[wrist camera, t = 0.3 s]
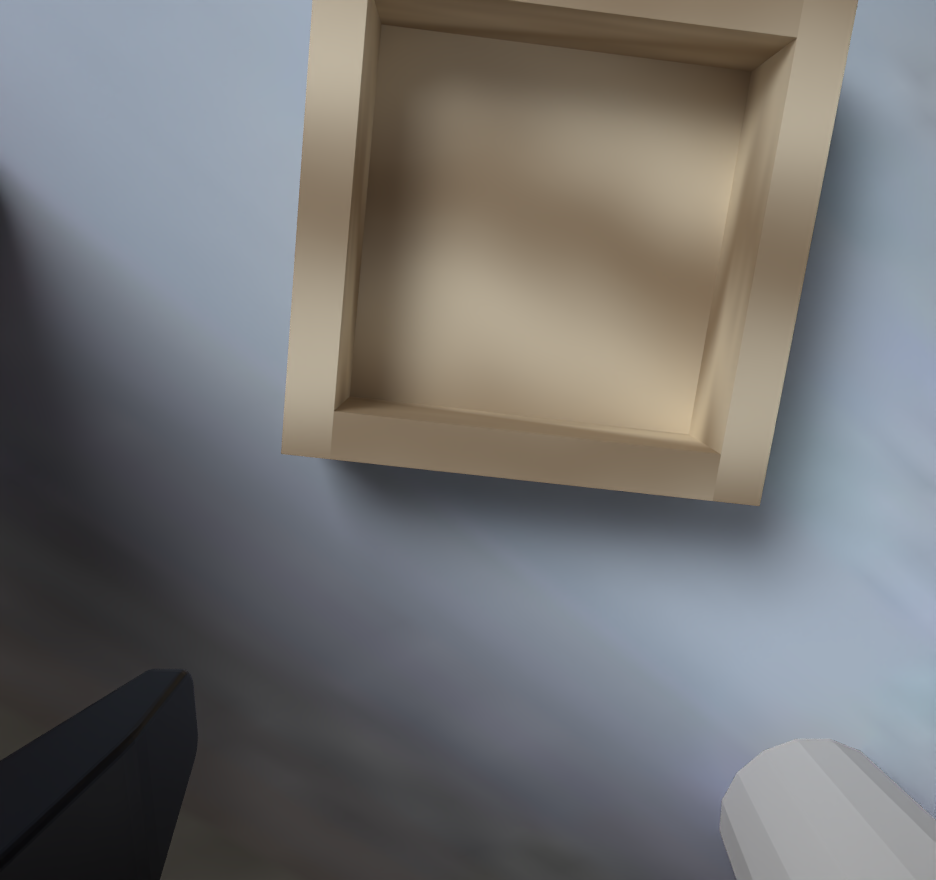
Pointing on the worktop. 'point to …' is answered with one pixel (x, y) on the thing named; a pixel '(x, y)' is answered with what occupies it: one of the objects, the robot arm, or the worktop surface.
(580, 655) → the worktop surface
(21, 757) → the robot arm
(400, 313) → the birch crate
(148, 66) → the worktop surface
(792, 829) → the white cup
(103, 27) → the worktop surface
